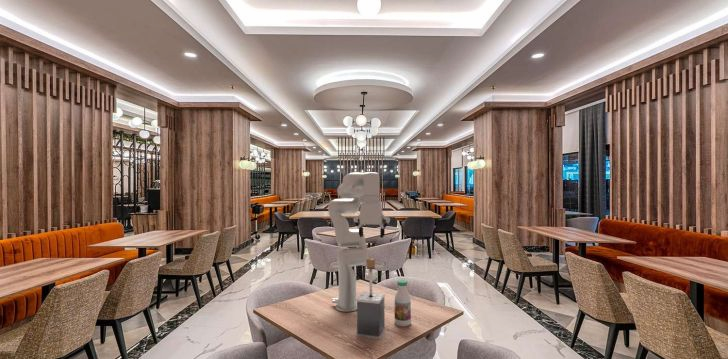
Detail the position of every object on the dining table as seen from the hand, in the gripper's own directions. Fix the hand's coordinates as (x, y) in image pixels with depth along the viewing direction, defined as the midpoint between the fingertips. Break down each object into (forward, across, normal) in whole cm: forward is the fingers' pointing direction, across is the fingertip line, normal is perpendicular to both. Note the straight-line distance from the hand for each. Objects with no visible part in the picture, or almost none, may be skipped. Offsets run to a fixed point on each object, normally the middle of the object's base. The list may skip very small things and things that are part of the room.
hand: (371, 236), depth 142 cm
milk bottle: (+43, +12, +12) cm, 46 cm away
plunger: (+30, 0, -1) cm, 30 cm away
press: (+42, 0, +1) cm, 42 cm away
